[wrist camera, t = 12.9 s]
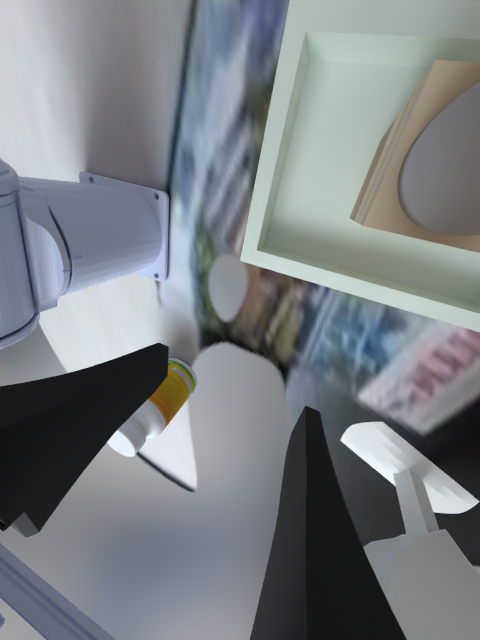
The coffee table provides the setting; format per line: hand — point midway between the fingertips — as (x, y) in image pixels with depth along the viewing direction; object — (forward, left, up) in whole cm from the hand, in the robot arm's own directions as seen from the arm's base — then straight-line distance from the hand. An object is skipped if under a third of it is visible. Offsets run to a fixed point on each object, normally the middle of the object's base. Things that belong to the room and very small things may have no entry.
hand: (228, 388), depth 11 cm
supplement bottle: (-9, -13, -11) cm, 19 cm away
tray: (+5, +10, -10) cm, 15 cm away
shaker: (+5, +10, -10) cm, 15 cm away
